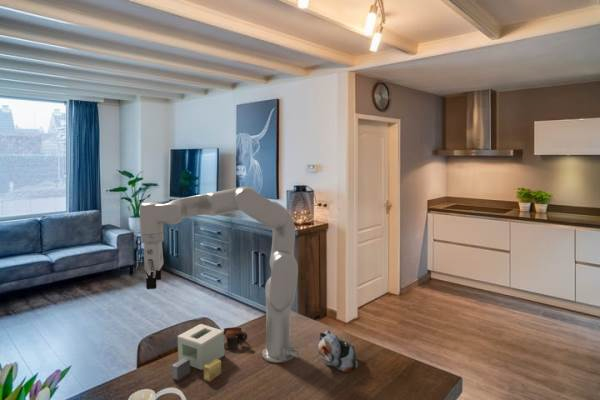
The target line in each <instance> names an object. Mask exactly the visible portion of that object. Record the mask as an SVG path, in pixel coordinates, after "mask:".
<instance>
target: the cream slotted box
mask: <svg viewBox="0 0 600 400" xmlns="http://www.w3.org/2000/svg"><path fill="white" fill-rule="evenodd" d="M224 343H225V335H224V329H219V328H216V327H214V326H213V327H212V326H209V325H206V324H203V323H200V324H198V325H196V326H194V327H192V328H190V329H188V330H187V331H184V332H182V333H181V334H179V335H177V357H178V361H180V360H181V359H183V358H188V359H190V367H193V368H195V369H197V370H201V371H204V366H205V365H206V364H208V363H209V362H211V361H212V360H214V359H215V358H216V359H219V360H220V359H221V358H222V357H224V356H225V349H224ZM178 361H177V362H178Z"/></svg>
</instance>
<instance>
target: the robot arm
mask: <svg viewBox="0 0 600 400" xmlns="http://www.w3.org/2000/svg"><path fill="white" fill-rule="evenodd" d="M240 211H241V212H242V213H244V214H245V215H247V216H248V217H250V218H251V219H253V220H256V222H258V223H260V224H262V225H264V226H265V227H267V228H269V229H271V230H272V231H271V232H272V237H271V238H272V240H271V242H272V243H271V250H270V257H269V267H270V270H271V273H270V277H269V278H268V279H267V281H266V283H265V293H264V295H265V312H266V313H265V315H266V316H265V331H266V332H265V333H266V335H265V337H266V338H265V340H266V341H265V344H266V345H265V348H263V350H262V351H261V355H262V357H263V359H264V360H265V361H267V362H271V363H275V364H276V363H278V364H279V363H280V364H282V363H286V362H288V361H291V360H292V359H293V358H296V359H297V358H299V351H300V350H299V349H298V348H294V343H292V342H291V339H292V337H291V336H292V334H291V327H292V324H291V323H292V322H291V321H292V320H291V318H292V309H291V308H292V305H293V303H294V301H295V297H296V292H297V284H298V283H297V282H298V277H299V276H298V273H299V266H298V262H297V259H296V258H295V240H296V228H295V227H296V226H295V222H294V219H293V217H292V215H291V214H290V211H288V210H287V208H286V207H284V206H283V205H281V204H280V203H279V202H278V201H272V200H270V199H268V198H266V197H265V196H264V195H262V194H261V193H259V192H257V191H256V190H255V189H254V188H253V187H251V186H247V185H245V186H238V187H235V188H229V189H223V190H219V191H213V192H208V193H204V194H198V195H192V196H187V197H182V198H177V199H174V200H170V201H169V202H168V203H164V204H163V203H160V202H155V201H153V202H151V201H150V202H149V201H147V202H143V203H141V204H140V205H139V226H140V227H139V228H140V242H141V243H142V244H143V246H144V247H143V256H144V257H143V261H144V263H143V264H144V270H145V271H146V274H145V276H146V278H145V281H146V282H145V283H146V285H145V287H146V289H147V290H156V289H157V281H160V280H162V267H163V265H164V254H163V253H164V252H163V251H164V250H163V244H162V243H163V242H164V241H165V239H164V224H166V225H176V224H178V223H181V221H183V219H186V218H190V217H196V216H205V215H206V216H213V217H214V216H215V217H216V216H221V215H225V214H230V213H236V212H240Z"/></svg>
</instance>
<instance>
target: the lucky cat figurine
mask: <svg viewBox="0 0 600 400" xmlns="http://www.w3.org/2000/svg"><path fill="white" fill-rule="evenodd" d="M317 347H318V355H319V356H320V358H321V359H322V361H324V364H325V365H326V366H331V367H334V368H336V369H338V370H339V371H341V372H344V373H346V374H347V373H350V372H352V371H354V370H355V369H357V368H358V366H359V365H358V363H359V362H358V360H357V359H356V351H355V346H354V345H352V344H351V343H350V342H349V341H347V340H346V339H345V338H339V337H338V336H337V335H336V334H333V333H331V331H330V330H325V332H324V333H323V332H320V333H319V343H318V346H317Z"/></svg>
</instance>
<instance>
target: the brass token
mask: <svg viewBox="0 0 600 400" xmlns="http://www.w3.org/2000/svg"><path fill="white" fill-rule="evenodd" d="M221 360H222V359H220V358H219V359H216V358H215V359H214V360H212V361H211V362H209V363H208V364H206V365H205V366H204V369H203V381H206V382H211V381H213V380H214V379H216V378H217V377H219V375H221V374H222V361H221Z"/></svg>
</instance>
